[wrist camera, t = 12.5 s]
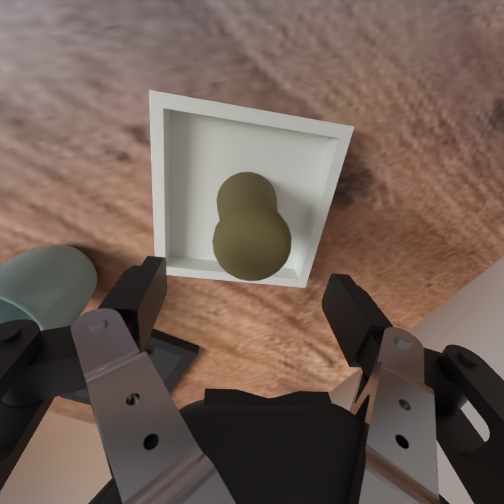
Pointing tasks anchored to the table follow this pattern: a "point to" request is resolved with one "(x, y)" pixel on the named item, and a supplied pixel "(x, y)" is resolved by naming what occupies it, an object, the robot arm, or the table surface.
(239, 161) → the tray
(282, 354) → the table surface
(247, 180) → the olive rounded piece
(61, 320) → the cup
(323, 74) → the table surface
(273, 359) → the table surface
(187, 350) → the picture frame
